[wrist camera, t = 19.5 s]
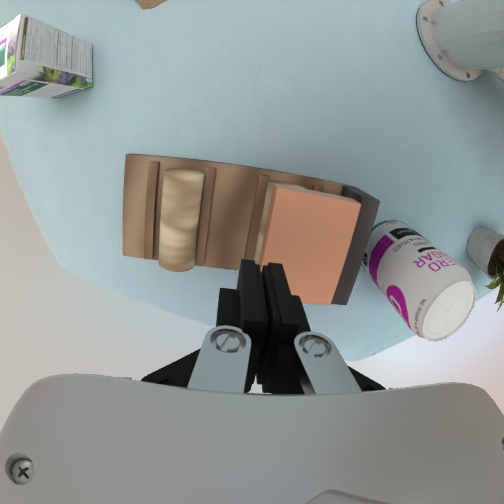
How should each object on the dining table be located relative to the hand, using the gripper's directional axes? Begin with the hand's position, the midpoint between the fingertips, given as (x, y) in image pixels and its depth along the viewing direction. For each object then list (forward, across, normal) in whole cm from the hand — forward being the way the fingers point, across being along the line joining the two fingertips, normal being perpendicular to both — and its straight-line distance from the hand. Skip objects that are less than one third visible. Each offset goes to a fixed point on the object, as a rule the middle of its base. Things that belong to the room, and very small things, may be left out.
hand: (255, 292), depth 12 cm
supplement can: (+22, -20, +5) cm, 30 cm away
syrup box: (+22, +22, -12) cm, 33 cm away
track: (+21, 0, +4) cm, 22 cm away
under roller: (+20, +7, +4) cm, 22 cm away
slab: (+16, -6, +4) cm, 18 cm away
